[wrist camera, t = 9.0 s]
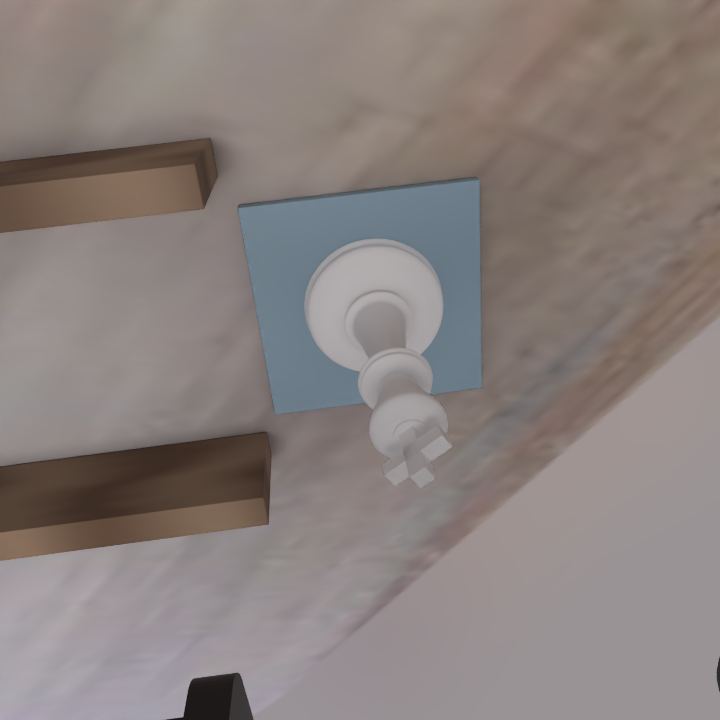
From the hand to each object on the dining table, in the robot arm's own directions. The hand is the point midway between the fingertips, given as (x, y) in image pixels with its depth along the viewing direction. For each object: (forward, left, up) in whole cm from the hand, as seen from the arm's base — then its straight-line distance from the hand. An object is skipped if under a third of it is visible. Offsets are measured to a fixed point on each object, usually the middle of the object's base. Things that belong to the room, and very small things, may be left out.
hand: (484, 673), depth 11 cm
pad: (0, 0, -15) cm, 15 cm away
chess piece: (0, 0, -15) cm, 15 cm away
